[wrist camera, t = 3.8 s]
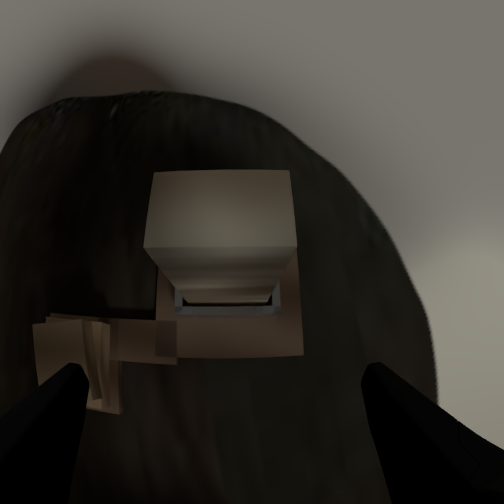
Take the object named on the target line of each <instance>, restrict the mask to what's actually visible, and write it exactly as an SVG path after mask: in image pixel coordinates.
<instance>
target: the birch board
mask: <svg viewBox="0 0 504 504" xmlns="http://www.w3.org/2000/svg"><path fill="white" fill-rule="evenodd" d="M296 247H297V240H296V229H295V219H294V209H293V200H292V191H291V182H290V174H289V171H287V170H195V171H171V172H154V177H153V182H152V188H151V195H150V201H149V208H148V215H147V222H146V230H145V238H144V247H143V248H144V249H145V250H146V252H147V253H148V254H149V255H150V257H151V258H152V259H153V261H154V262H155V263H156V264H157V266H158V267H159V268H160V269H161V271H162V272H163V273H164V274H165V276H166V277H167V278H168V279H169V281H170V282H171V283H172V284H173V286H174V287H175V288H176V289H177V290H178V292H179V293H180V294H181V295H182V296H183V298H184V299H185V300H186V301H187V302H188V303H189V305H190V306H191V307H237V306H265V305H266V303H267V301H268V300H269V298H270V296H271V294H272V292H273V290H274V289H275V287H276V285H277V283H278V281H279V279H280V277H281V276H282V274H283V272H284V270H285V268H286V266H287V264H288V263H289V261H290V259H291V257H292V255H293V253H294V251H295V249H296Z"/></svg>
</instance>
